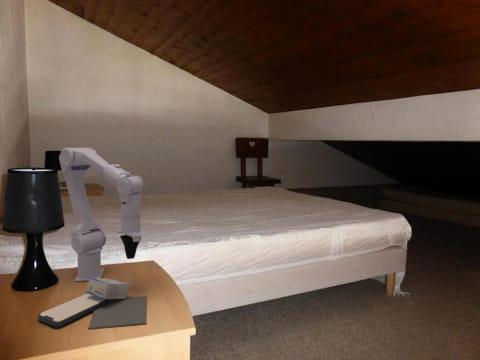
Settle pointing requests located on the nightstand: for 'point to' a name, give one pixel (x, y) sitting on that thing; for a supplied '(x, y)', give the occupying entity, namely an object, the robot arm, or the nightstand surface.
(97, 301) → the phone case
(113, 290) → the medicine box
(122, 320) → the mat
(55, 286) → the nightstand surface
